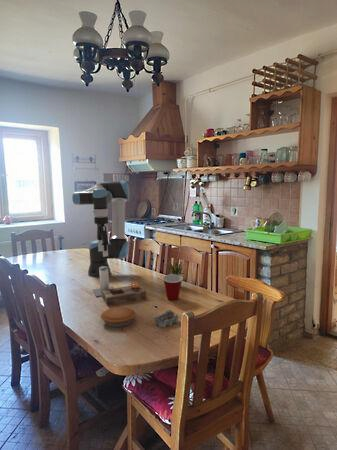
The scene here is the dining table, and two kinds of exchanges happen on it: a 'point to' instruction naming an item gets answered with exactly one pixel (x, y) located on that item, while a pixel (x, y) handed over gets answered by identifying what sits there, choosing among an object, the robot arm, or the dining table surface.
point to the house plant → (176, 268)
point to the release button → (135, 286)
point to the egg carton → (166, 319)
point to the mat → (98, 293)
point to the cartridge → (104, 278)
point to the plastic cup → (172, 286)
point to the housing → (123, 295)
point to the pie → (118, 316)
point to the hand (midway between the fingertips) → (103, 253)
